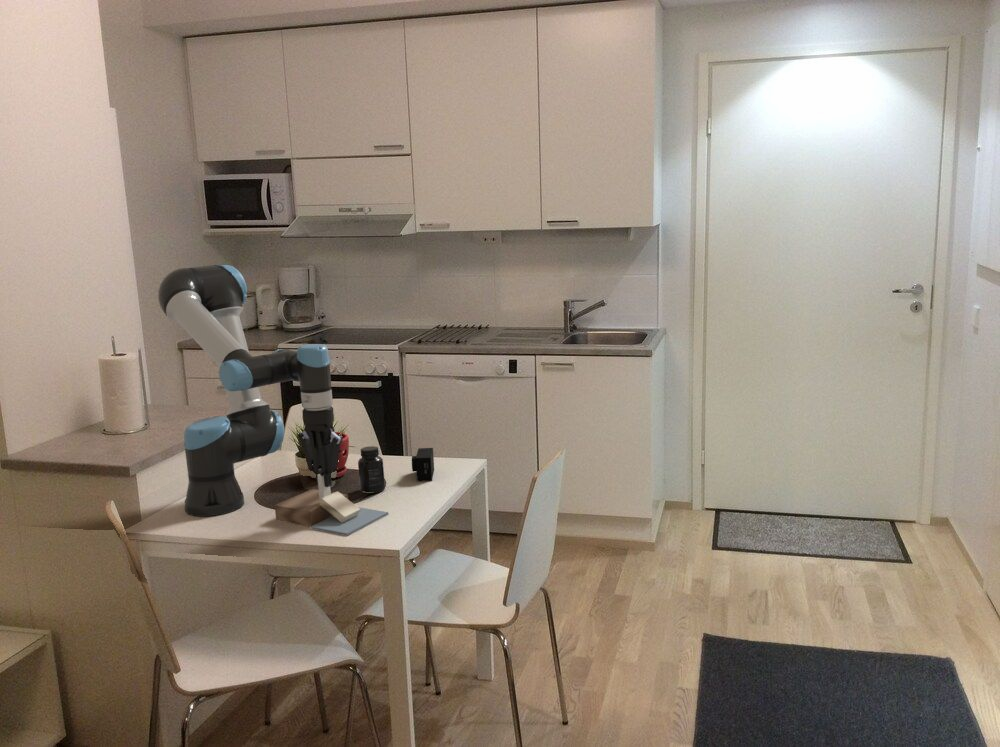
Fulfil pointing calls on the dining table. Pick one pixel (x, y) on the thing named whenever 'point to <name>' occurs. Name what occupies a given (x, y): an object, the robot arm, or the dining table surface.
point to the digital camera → (423, 464)
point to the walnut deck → (303, 509)
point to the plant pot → (343, 454)
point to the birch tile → (339, 507)
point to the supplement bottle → (371, 470)
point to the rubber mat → (350, 522)
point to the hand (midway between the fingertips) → (325, 498)
